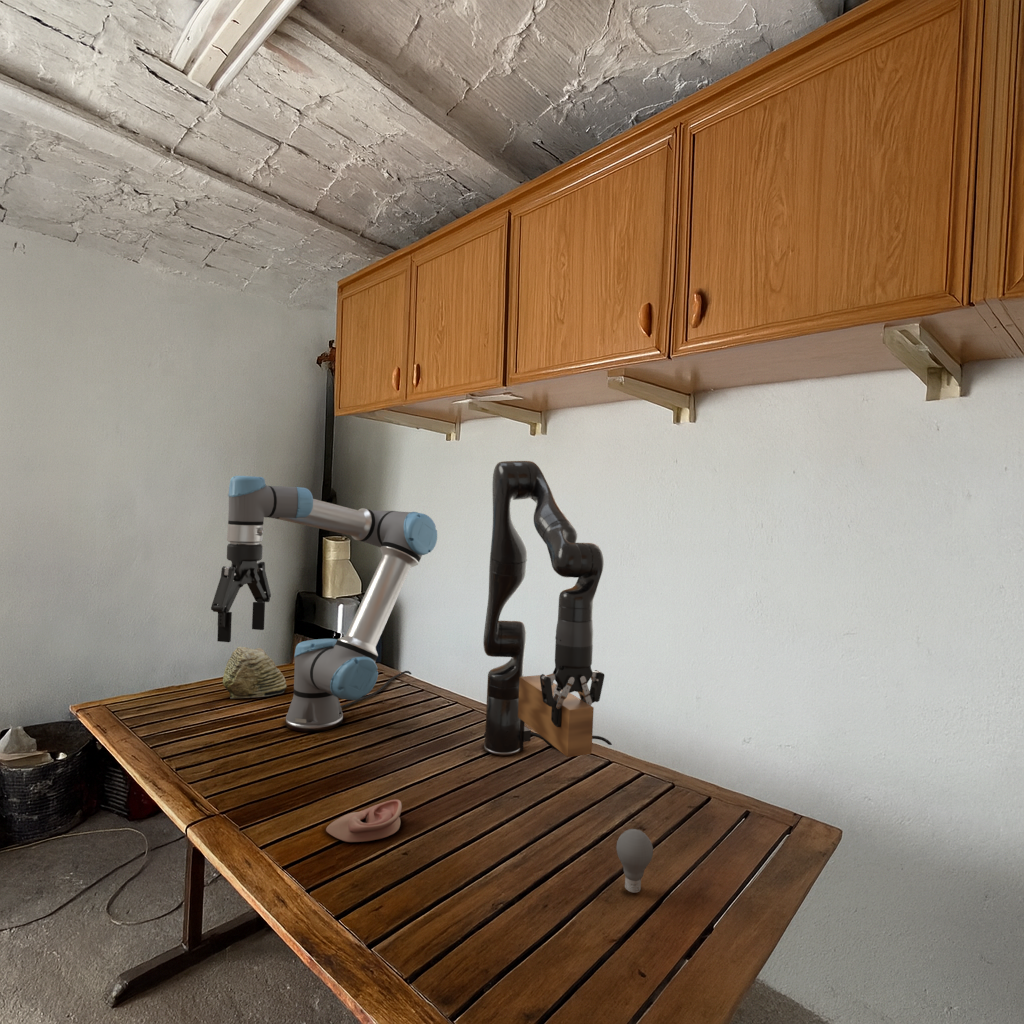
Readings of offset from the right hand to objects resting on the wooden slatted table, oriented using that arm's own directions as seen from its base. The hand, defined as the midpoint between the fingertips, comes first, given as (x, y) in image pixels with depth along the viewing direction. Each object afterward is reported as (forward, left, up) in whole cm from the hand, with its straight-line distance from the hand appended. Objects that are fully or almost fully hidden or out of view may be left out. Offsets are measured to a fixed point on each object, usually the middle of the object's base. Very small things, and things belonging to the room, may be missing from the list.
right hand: (570, 723), depth 128 cm
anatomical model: (+38, -12, -20) cm, 45 cm away
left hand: (+58, -50, +11) cm, 78 cm away
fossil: (+50, -104, -20) cm, 117 cm away
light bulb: (+2, +25, -20) cm, 32 cm away
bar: (0, -8, -5) cm, 9 cm away
